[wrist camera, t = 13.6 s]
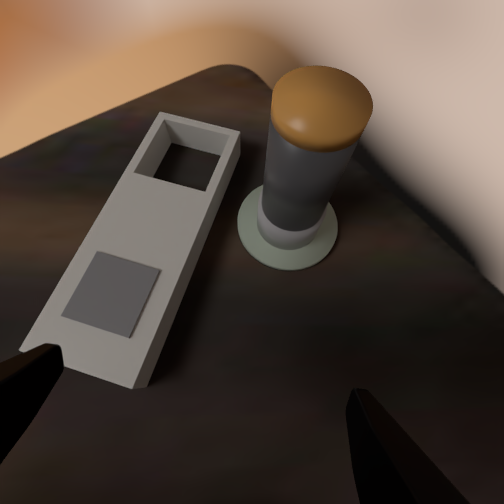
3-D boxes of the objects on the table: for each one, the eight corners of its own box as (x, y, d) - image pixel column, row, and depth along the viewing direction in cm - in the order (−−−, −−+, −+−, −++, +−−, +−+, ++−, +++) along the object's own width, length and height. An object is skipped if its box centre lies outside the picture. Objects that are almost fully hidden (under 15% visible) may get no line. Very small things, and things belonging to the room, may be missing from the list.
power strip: (240, 154, 29) (240, 130, 26) (146, 387, 21) (130, 389, 18) (167, 135, 30) (159, 109, 27) (47, 353, 21) (16, 350, 19)
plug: (323, 205, 27) (384, 75, 15) (310, 257, 24) (370, 153, 13) (266, 189, 27) (282, 53, 16) (249, 240, 25) (253, 125, 13)
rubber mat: (343, 197, 28) (345, 194, 27) (325, 283, 24) (327, 281, 24) (253, 174, 28) (253, 170, 28) (224, 254, 25) (223, 251, 24)
